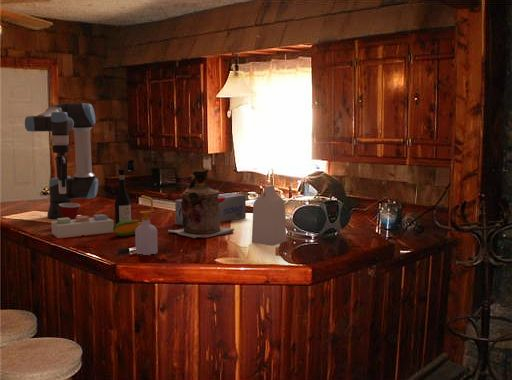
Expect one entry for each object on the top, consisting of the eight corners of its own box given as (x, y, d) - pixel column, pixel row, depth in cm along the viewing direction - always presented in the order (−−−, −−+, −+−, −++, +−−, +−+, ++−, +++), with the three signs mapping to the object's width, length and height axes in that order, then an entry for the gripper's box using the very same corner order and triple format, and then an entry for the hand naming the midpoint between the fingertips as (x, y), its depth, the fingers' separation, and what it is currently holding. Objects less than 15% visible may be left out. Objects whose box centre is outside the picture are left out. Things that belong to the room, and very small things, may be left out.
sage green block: (57, 228, 276) (56, 218, 276) (68, 227, 279) (67, 217, 278) (59, 230, 272) (59, 220, 271) (70, 229, 275) (70, 218, 274)
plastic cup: (74, 228, 290) (73, 205, 289) (55, 228, 293) (54, 205, 291) (85, 225, 301) (84, 202, 299) (66, 224, 303) (65, 202, 302)
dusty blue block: (94, 224, 286) (93, 215, 285) (104, 223, 288) (103, 214, 288) (97, 226, 281) (96, 216, 281) (107, 225, 284) (107, 215, 283)
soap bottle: (137, 251, 243) (135, 194, 239) (158, 250, 243) (157, 194, 240) (134, 256, 234) (132, 197, 231) (156, 255, 234) (155, 196, 231)
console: (51, 233, 279) (51, 220, 278) (105, 227, 293) (105, 215, 292) (58, 238, 268) (57, 225, 267) (113, 232, 282) (113, 219, 281)
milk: (273, 245, 253) (273, 188, 249) (251, 242, 259) (251, 186, 255) (286, 241, 263) (286, 185, 259) (265, 238, 269) (265, 183, 265)
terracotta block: (76, 226, 281) (75, 216, 280) (86, 225, 284) (86, 215, 283) (78, 228, 277) (78, 218, 276) (89, 227, 279) (89, 217, 279)
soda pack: (232, 215, 332) (232, 192, 330) (246, 218, 322) (246, 194, 321) (174, 224, 305) (173, 198, 303) (188, 227, 295) (188, 201, 293)
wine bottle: (134, 225, 299) (132, 169, 295) (121, 228, 293) (119, 170, 289) (125, 223, 304) (123, 168, 300) (112, 226, 298) (110, 169, 295)
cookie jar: (204, 226, 298) (204, 165, 294) (236, 233, 281) (236, 168, 277) (166, 232, 281) (165, 168, 277) (197, 240, 264) (196, 172, 260)
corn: (109, 220, 271) (143, 215, 285) (109, 236, 272) (143, 230, 287) (117, 223, 266) (152, 218, 280) (117, 239, 267) (152, 233, 282)
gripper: (48, 144, 275) (50, 192, 278) (56, 145, 262) (58, 195, 265) (64, 143, 279) (66, 191, 282) (72, 144, 266) (74, 194, 269)
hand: (62, 193), depth 273 cm, fingers open, 2 cm apart
